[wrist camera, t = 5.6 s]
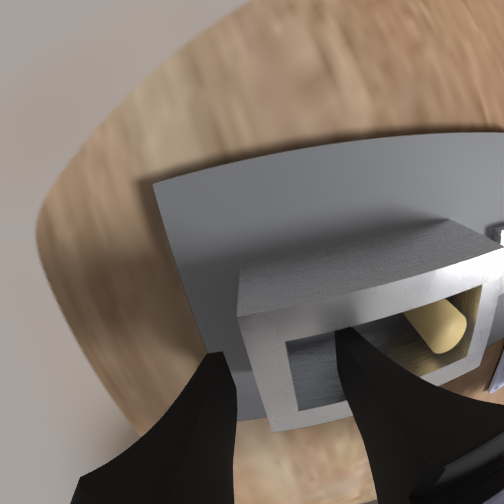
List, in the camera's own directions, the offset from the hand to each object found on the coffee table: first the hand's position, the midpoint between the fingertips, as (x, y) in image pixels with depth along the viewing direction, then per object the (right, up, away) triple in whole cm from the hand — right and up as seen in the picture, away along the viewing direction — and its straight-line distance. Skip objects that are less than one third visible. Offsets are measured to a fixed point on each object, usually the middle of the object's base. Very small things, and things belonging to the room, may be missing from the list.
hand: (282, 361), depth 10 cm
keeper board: (+6, +3, +4) cm, 8 cm away
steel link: (+4, +2, +2) cm, 5 cm away
